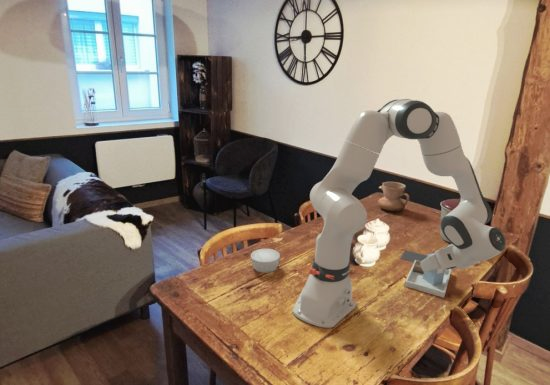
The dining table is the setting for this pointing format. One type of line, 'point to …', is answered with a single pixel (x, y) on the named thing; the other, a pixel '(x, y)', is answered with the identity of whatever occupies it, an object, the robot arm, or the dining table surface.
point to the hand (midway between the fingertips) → (433, 266)
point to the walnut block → (418, 267)
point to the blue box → (434, 275)
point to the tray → (420, 284)
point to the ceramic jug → (392, 196)
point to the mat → (412, 256)
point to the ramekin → (265, 260)
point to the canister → (447, 211)
